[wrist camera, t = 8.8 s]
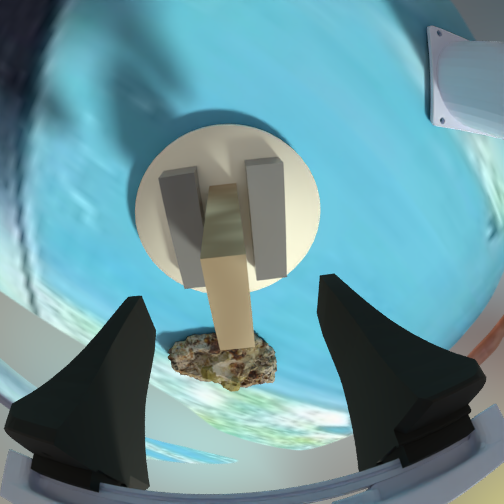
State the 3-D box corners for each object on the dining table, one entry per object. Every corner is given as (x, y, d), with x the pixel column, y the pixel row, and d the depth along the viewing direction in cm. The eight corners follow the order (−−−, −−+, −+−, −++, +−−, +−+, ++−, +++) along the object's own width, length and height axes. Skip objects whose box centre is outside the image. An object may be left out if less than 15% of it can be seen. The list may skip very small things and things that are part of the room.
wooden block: (236, 182, 17) (246, 254, 10) (243, 254, 19) (255, 346, 13) (209, 186, 17) (200, 259, 10) (219, 256, 19) (220, 350, 12)
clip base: (314, 117, 16) (328, 121, 14) (313, 276, 22) (322, 296, 20) (122, 141, 15) (107, 149, 13) (162, 293, 22) (157, 315, 20)
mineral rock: (296, 348, 24) (269, 410, 25) (285, 324, 28) (262, 383, 30) (171, 327, 21) (160, 395, 23) (176, 303, 26) (165, 368, 27)
